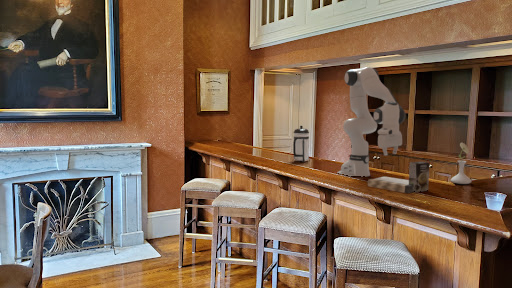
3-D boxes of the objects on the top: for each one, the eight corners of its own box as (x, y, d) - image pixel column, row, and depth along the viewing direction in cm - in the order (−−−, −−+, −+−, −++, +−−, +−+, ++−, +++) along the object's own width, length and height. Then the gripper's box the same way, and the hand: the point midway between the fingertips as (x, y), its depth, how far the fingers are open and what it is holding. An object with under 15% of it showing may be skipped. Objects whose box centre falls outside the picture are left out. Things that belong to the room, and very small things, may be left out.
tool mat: (373, 180, 262) (373, 178, 262) (384, 177, 270) (384, 176, 270) (418, 187, 239) (418, 186, 239) (428, 184, 247) (428, 183, 247)
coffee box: (416, 192, 229) (417, 163, 227) (408, 190, 234) (408, 162, 233) (428, 190, 232) (429, 162, 230) (420, 188, 238) (421, 160, 236)
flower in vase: (472, 186, 243) (474, 144, 241) (451, 184, 247) (453, 143, 244) (469, 181, 256) (471, 141, 253) (449, 180, 259) (451, 141, 257)
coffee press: (289, 160, 349) (289, 125, 346) (307, 159, 351) (308, 124, 347) (293, 163, 332) (293, 126, 329) (312, 163, 334) (313, 126, 330)
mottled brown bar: (367, 186, 246) (367, 179, 245) (371, 185, 248) (371, 178, 248) (408, 193, 226) (409, 186, 225) (412, 192, 229) (412, 185, 228)
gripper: (395, 129, 242) (394, 152, 244) (375, 131, 229) (375, 155, 231) (405, 129, 238) (404, 153, 239) (386, 131, 224) (385, 156, 226)
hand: (390, 154), depth 235 cm, fingers open, 8 cm apart
